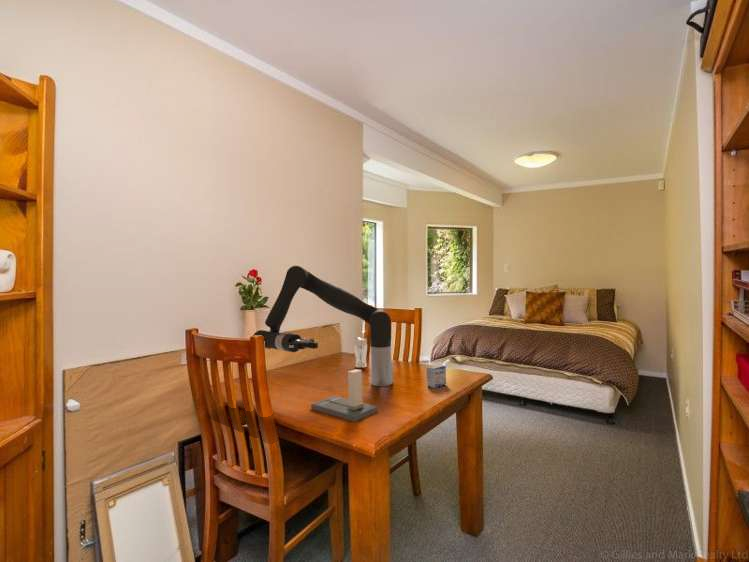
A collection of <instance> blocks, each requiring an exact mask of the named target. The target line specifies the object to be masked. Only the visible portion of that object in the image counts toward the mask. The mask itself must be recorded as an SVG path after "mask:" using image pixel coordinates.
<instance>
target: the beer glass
mask: <svg viewBox="0 0 749 562" xmlns="http://www.w3.org/2000/svg"><path fill="white" fill-rule="evenodd" d="M353 341H354V342H353V343H354V344H353V348H354V349H353V350H354V354H355V355H354V356H355V368H357V369H358V368H359V369H362V368H367V366H368V365H367V364H368V363H367V354H368V353H367V352H368V344H367V343H368V340H367V338H366V337H356V338H354V339H353Z"/></svg>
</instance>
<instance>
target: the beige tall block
mask: <svg viewBox="0 0 749 562" xmlns="http://www.w3.org/2000/svg"><path fill="white" fill-rule="evenodd" d="M362 373H363V372H362V369H358V368H357V369H356V368H355V369H352V370H348V371H347V387H348V388H347V390H348V391H347V393H348V399H349V405H347V408H349V409H352V410H357V409H359V408H362V407H364V406H365V404H364V403H365V402H363V378H362V377H363V374H362Z"/></svg>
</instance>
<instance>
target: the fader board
mask: <svg viewBox="0 0 749 562" xmlns="http://www.w3.org/2000/svg"><path fill="white" fill-rule="evenodd" d="M363 403H364V404H365V406H364V407H362V408H359V409H357V410H352V409H349V408H347V405H349V398H345V397H341V396H338V395H332V396H329V397H327V398H324V399H321V400H318V401H315V402H313V403H311V404H310V407H311V408H310V410H312V409H314V411H316V410H317V411H316V412H319V411H320V413H324V414H327V415H329V414H330V416H333V417H336V416H337V418H339V417H340V418H339V419H343V420H347V421H349V420H350V422H353V423H357V422H359V421H361V420H363V419H365V418H367V417H370V416H372V415H374V414H376V413H378V406H377V405H373V404H369V403H366V402H363ZM371 414H372V415H371ZM362 418H363V419H362ZM360 419H361V420H360ZM358 420H359V421H358Z"/></svg>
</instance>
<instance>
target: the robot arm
mask: <svg viewBox="0 0 749 562" xmlns="http://www.w3.org/2000/svg"><path fill="white" fill-rule="evenodd" d="M300 288H301V289H303V290H306V291H308V292H309V293H312V294H313V295H315V296H316V297H318V298H319V299H321V300H322V302H325V303H326V304H327V305H329V306H331V307H333V308H334V309H337V310H338V311H341V312H342V313H343V312H344V313H346V314H349V315H351V316H355V317H357V318H359V319H361V320H362V321H364V322H365V323H367V324H369V333H370V334H369V336H370V342H369V343H370V345H369V346H370V371H371V372H370V373H371V374H370V375H371V377H370V378H371V380H370V381H371V385H372V386H374V387H387V386H390V385H392V384H393V383H394V375H393V374H394V372H393V371H394V369H393V368H394V367H393V366H394V365H393V363H394V362H393V361H392V322H391V321H392V319H391V317H390V315H389V314H388V312H387V311H386V310H383V309H381V308H378V307H375V306H373V305H370V304H368V303H366V302H364V301H363V300H362V299H360V298H359V297H357V296H356V295H354V293H351V292H349V291H347V290H346V289H344V288H342V287H340V286H338V285H336V284H333V283H331V282H328V281H326V280H324V279H321V278H319V277H317V276H316V275H315V274H313V273H311V271H308V270H307V269H306V268H305V267H303V266H301V265H292V266H290V267H289V268H288V269H287V270H286V273H285V277H284V281H283V284H282V286H281V289H280V292H279V294H278V296H277V298H276V299H275V301H274V304H273V306H272V307H271V309H270V311H269V313H268V314H267V317H266V319H265V321H264V323H265V326H266V327H268V328H269V331H268V330H262V329H261V330H257V331H255V332H254V334H253V335H252V337H253V336H254V335H262V336H264V341H265V348H264V349H269V350H270V349H272V350H273V349H274V350H277V351H278V350H280V351H282V352H283V351H284V352H289V353H297V352H298V351H300V350H305V349H312V350H313V349H318V347H319V344H318V342H316V341H315V338H313V337H312V338H309V339H307V338H304V337H301V335H299V334H297V333H291V332H280V330H281V326H282V325H283V322H284V321H285V319H286V316H287V314H288V312H289V309H290V306H291V304H292V302H293V299H294V297H295V296H296V294H297V292H298V291H299V289H300Z"/></svg>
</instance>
